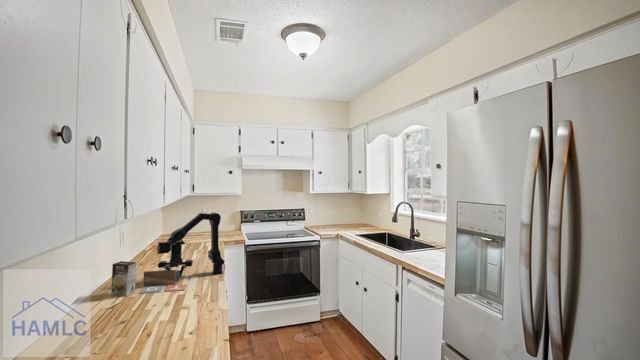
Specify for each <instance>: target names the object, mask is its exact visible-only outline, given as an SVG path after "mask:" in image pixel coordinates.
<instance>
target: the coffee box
mask: <svg viewBox="0 0 640 360" xmlns="http://www.w3.org/2000/svg"><path fill="white" fill-rule="evenodd" d="M111 271H112V272H111V290H110V295H111V296H118V295H119V296H122V297H128V296H129V295H132V294H134V293H135V291H136V289H135V288H136V276H137V275H136V273H137V272H136V271H137V262H136V261H123V260H120V261H117V262H115V263H112V270H111Z"/></svg>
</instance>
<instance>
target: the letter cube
mask: <svg viewBox="0 0 640 360" xmlns="http://www.w3.org/2000/svg"><path fill="white" fill-rule="evenodd" d="M175 270H176V280H175V282H176V281H177V282H178V281H179V282H180V279H181V278H180V271H181V269H180V270H179V269H175Z"/></svg>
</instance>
